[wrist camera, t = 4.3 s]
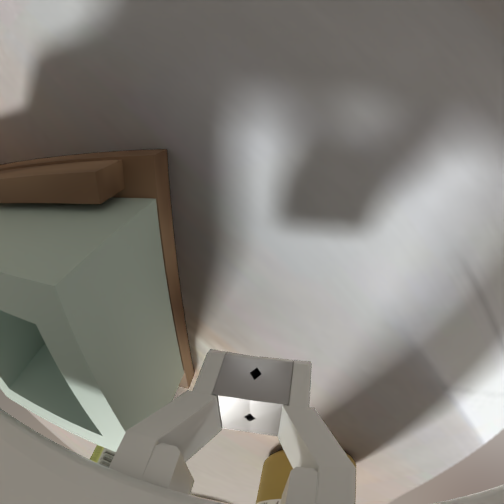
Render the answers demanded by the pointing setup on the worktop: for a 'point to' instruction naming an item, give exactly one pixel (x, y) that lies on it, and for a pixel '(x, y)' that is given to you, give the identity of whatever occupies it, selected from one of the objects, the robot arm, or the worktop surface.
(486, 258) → the worktop surface
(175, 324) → the wooden tray
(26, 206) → the socket block
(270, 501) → the paper tube
